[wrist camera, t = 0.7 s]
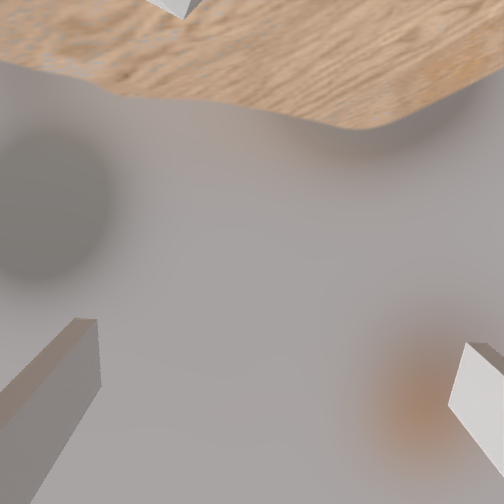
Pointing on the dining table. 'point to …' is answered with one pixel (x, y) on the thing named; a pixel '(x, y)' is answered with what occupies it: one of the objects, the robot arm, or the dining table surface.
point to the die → (177, 6)
